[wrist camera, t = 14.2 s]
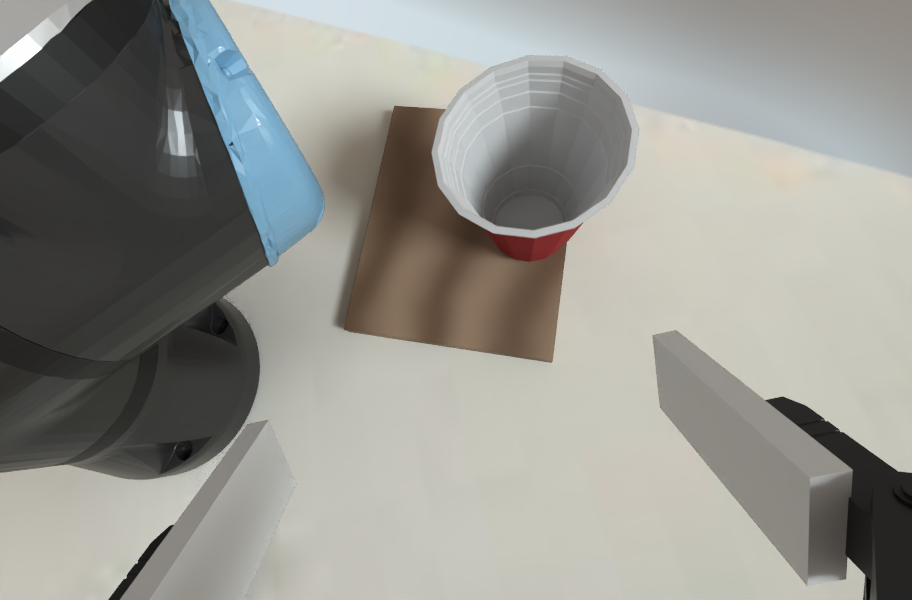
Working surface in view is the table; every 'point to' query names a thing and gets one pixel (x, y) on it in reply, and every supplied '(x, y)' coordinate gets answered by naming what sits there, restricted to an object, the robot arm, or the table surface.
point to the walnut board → (445, 263)
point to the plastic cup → (535, 151)
